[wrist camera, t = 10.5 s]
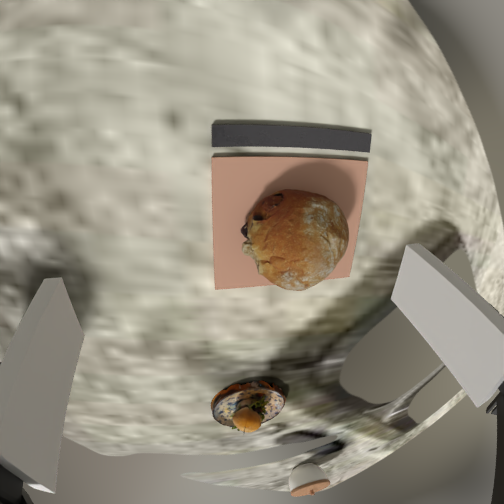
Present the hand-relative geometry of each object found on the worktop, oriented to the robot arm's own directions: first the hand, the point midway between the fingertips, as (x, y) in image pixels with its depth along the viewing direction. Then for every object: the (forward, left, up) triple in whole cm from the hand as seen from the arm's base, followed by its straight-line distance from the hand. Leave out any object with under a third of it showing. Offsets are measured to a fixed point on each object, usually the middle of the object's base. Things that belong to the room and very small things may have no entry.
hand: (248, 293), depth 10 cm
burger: (+35, +4, -19) cm, 40 cm away
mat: (+5, +8, -19) cm, 21 cm away
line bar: (-4, +8, -19) cm, 21 cm away
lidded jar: (+75, +20, -19) cm, 80 cm away
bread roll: (+6, +8, -19) cm, 21 cm away
